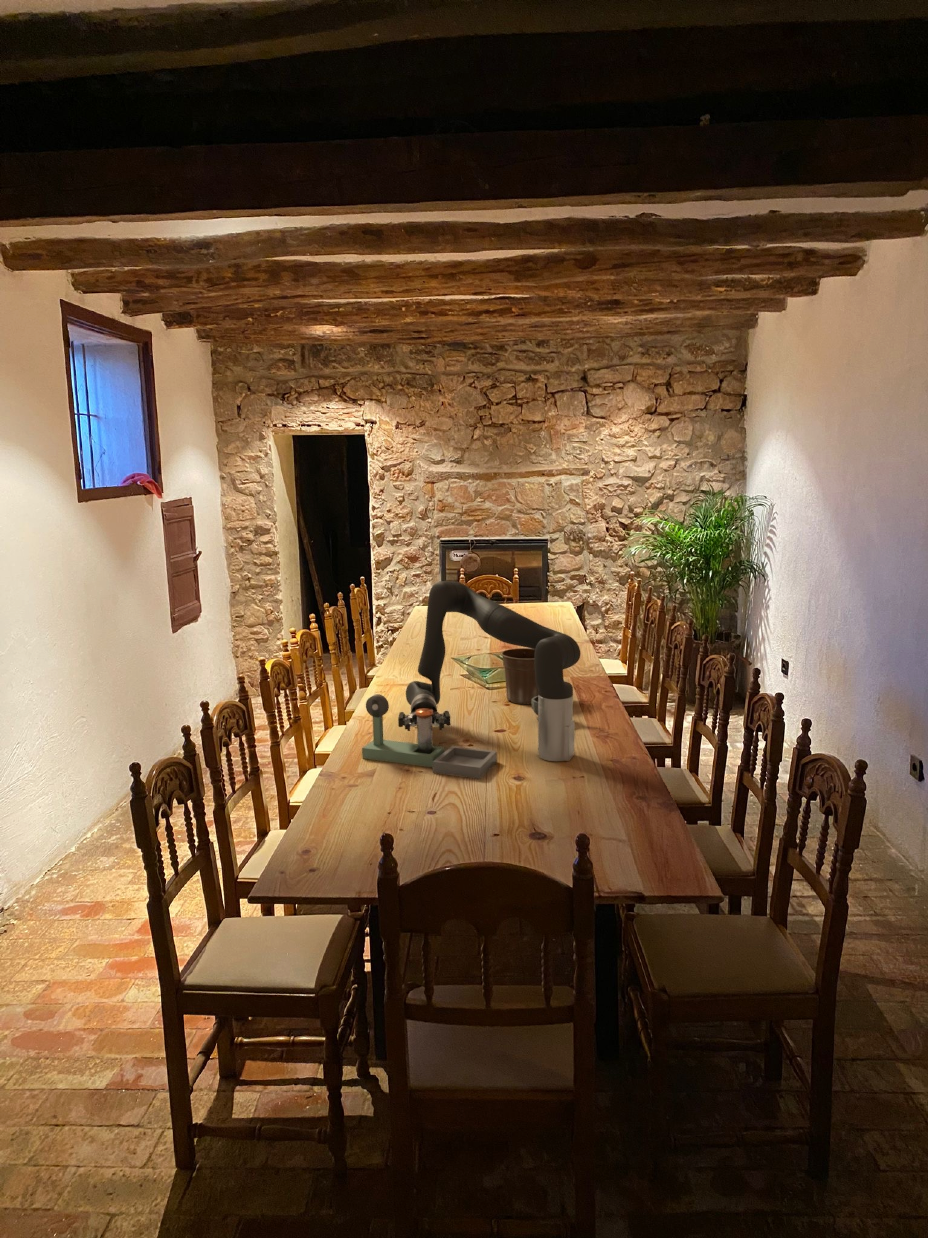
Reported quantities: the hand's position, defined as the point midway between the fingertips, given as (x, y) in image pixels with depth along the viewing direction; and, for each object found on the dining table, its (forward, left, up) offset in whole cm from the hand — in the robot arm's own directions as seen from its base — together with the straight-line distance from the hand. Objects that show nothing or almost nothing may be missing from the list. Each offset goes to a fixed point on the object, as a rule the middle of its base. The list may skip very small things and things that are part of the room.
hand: (424, 727), depth 227 cm
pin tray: (-12, +1, -10) cm, 15 cm away
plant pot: (-8, -65, -10) cm, 66 cm away
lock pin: (0, 0, -10) cm, 10 cm away
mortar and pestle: (-22, -45, -10) cm, 51 cm away
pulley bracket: (+7, 0, -10) cm, 12 cm away
